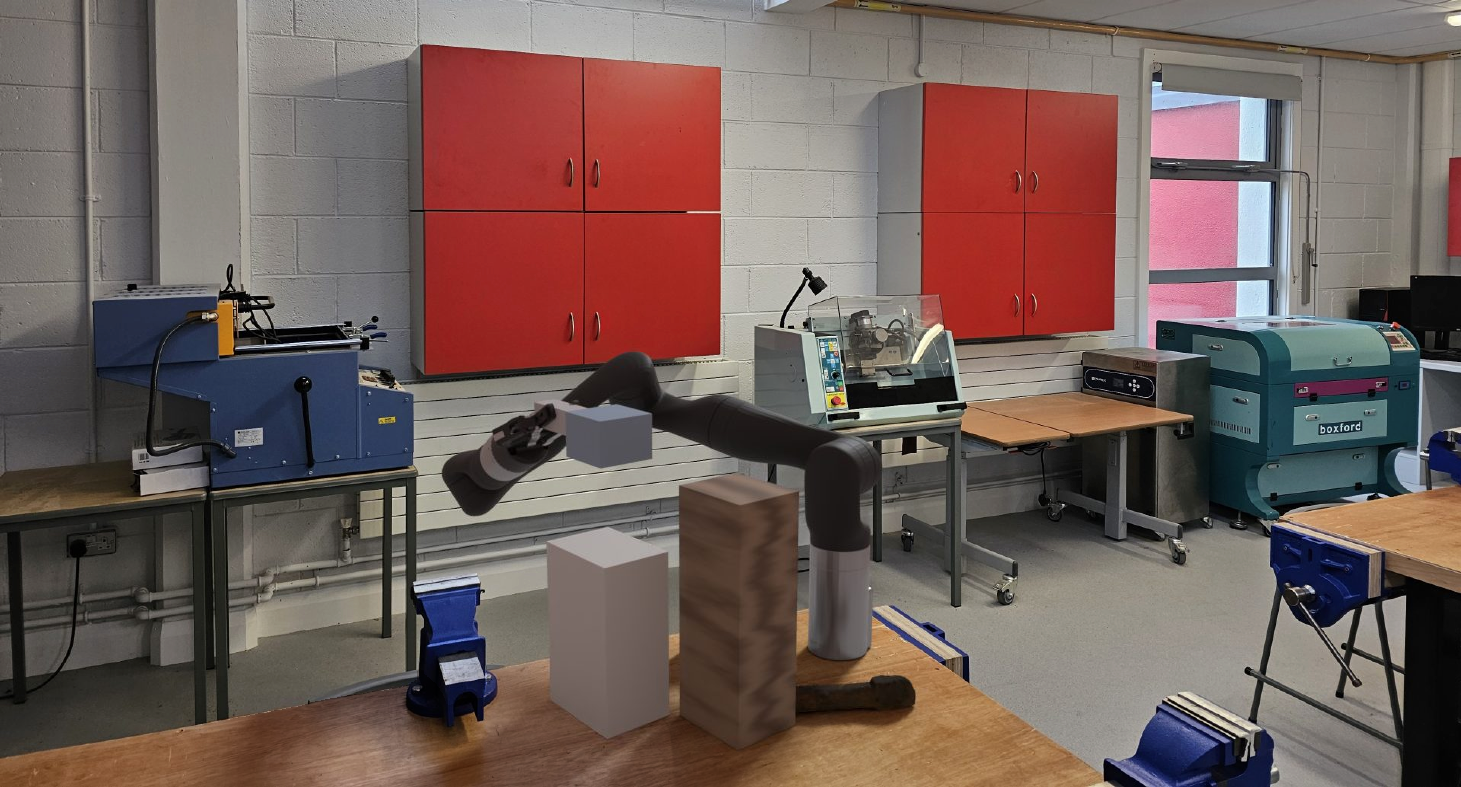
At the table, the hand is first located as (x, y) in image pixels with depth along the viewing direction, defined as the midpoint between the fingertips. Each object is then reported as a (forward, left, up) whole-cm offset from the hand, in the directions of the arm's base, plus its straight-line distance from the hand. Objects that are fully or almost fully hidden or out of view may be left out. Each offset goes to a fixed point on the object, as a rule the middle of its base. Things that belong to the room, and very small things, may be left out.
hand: (565, 408), depth 139 cm
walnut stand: (-11, +23, -40) cm, 48 cm away
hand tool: (-25, +30, -41) cm, 57 cm away
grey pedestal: (0, +9, -40) cm, 41 cm away
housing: (0, +5, -5) cm, 7 cm away
